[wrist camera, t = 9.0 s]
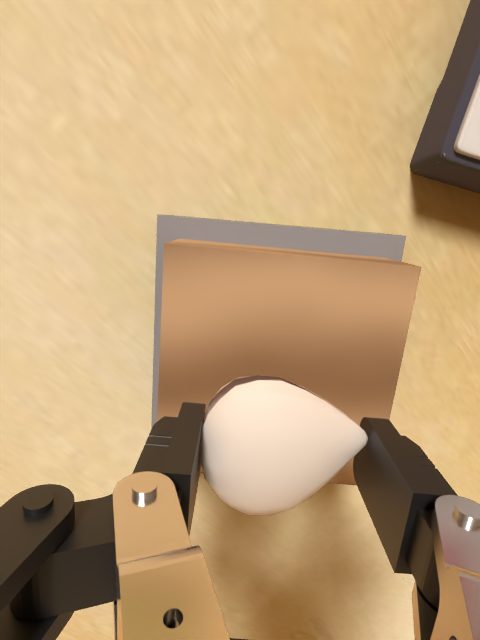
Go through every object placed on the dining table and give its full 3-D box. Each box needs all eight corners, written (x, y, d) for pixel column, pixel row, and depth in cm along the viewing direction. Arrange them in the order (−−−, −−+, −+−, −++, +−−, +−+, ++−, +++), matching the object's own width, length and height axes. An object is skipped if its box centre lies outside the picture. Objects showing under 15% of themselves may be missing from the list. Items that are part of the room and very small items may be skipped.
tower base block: (172, 215, 22) (157, 214, 18) (377, 233, 22) (406, 236, 18) (165, 403, 25) (151, 437, 21) (346, 417, 25) (364, 453, 22)
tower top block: (180, 238, 19) (164, 243, 15) (384, 257, 19) (421, 267, 15) (171, 423, 21) (155, 468, 17) (350, 438, 21) (375, 486, 17)
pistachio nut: (198, 364, 12) (188, 402, 10) (356, 355, 12) (386, 390, 10) (209, 481, 13) (202, 541, 11) (354, 473, 13) (381, 531, 11)
